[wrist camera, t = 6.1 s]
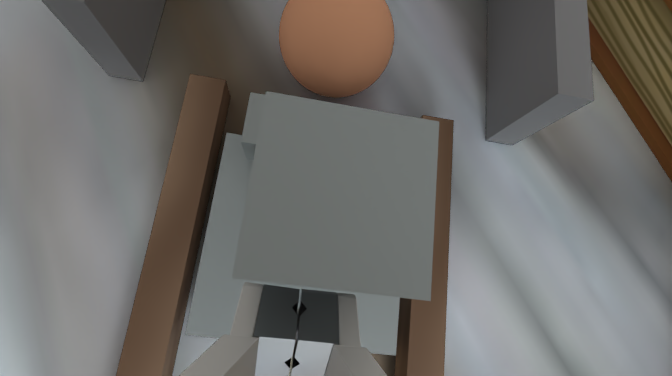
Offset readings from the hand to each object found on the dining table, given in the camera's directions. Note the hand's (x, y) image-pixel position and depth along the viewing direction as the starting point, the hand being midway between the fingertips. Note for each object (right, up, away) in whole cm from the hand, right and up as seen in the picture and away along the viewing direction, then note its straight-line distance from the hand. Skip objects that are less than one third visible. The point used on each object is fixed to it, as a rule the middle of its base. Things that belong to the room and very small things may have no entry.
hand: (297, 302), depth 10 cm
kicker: (0, +1, +6) cm, 6 cm away
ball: (+1, +10, +6) cm, 11 cm away
